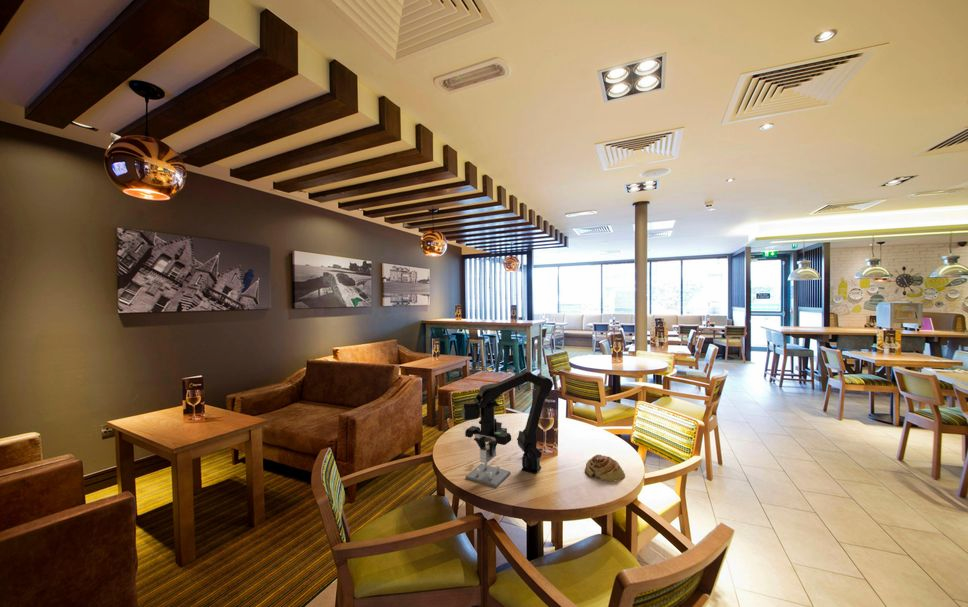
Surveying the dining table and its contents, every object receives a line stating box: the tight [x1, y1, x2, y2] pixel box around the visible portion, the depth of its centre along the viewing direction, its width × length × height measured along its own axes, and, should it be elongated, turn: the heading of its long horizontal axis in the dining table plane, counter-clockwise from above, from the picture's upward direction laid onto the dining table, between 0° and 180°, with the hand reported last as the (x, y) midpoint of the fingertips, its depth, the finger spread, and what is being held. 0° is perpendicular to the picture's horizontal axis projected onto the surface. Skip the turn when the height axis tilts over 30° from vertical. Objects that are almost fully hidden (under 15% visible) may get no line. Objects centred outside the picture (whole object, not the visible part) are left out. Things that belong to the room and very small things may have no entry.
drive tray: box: [465, 463, 511, 488], centre depth 138 cm, size 14×12×4 cm
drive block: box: [479, 442, 497, 464], centre depth 138 cm, size 3×8×5 cm, turn 149°
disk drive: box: [486, 427, 508, 442], centre depth 181 cm, size 10×3×15 cm
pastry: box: [584, 454, 626, 482], centre depth 139 cm, size 13×15×8 cm
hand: (488, 456), depth 138 cm, fingers closed on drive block, 3 cm apart
